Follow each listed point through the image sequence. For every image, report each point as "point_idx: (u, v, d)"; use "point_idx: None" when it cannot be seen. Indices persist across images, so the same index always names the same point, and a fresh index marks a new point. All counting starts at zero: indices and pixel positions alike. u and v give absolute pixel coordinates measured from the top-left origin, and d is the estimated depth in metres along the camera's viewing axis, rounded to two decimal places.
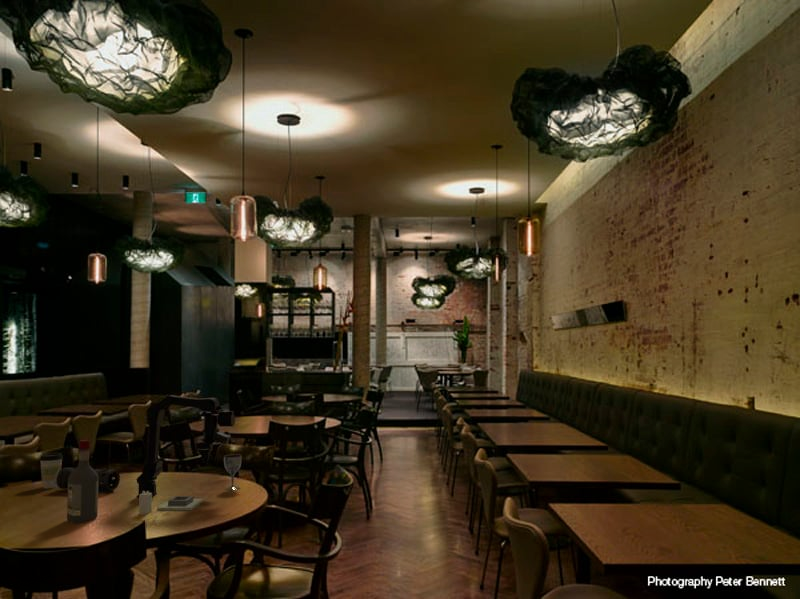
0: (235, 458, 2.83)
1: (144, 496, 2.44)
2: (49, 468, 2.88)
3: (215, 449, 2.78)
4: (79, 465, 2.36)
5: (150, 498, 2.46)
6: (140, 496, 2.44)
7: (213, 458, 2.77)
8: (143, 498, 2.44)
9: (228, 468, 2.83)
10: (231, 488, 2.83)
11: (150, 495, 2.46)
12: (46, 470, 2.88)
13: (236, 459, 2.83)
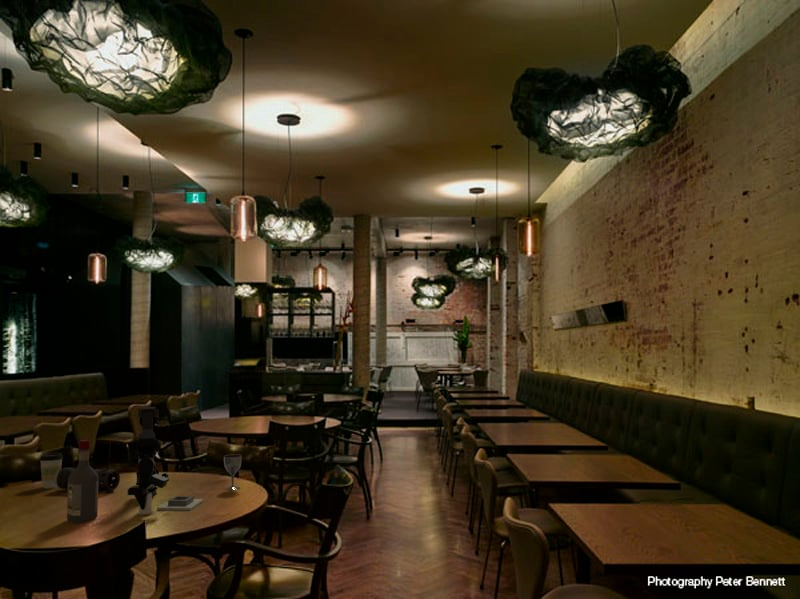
0: (235, 458, 2.83)
1: None
2: (49, 468, 2.88)
3: None
4: (79, 465, 2.36)
5: (150, 498, 2.46)
6: None
7: None
8: None
9: (228, 468, 2.83)
10: (231, 488, 2.83)
11: (150, 495, 2.46)
12: (46, 470, 2.88)
13: (236, 459, 2.83)
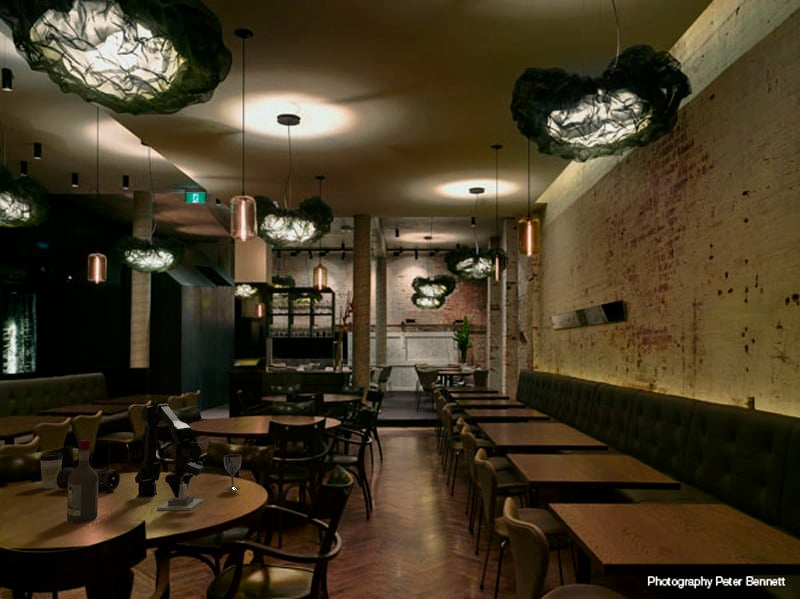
0: (235, 458, 2.83)
1: (180, 487, 2.55)
2: (49, 468, 2.88)
3: (186, 481, 2.61)
4: (79, 465, 2.36)
5: (186, 489, 2.57)
6: None
7: None
8: None
9: (228, 468, 2.83)
10: (231, 488, 2.83)
11: (186, 486, 2.57)
12: (46, 470, 2.88)
13: (236, 459, 2.83)
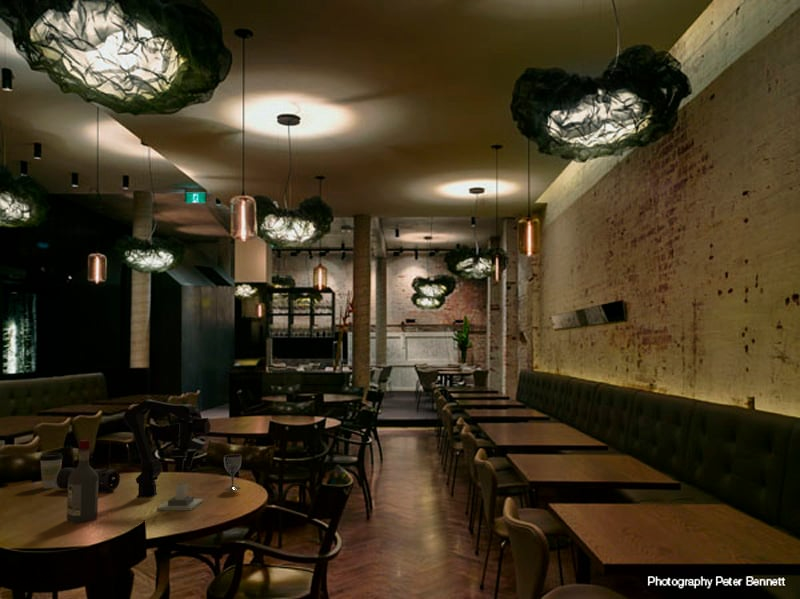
0: (235, 458, 2.83)
1: (180, 487, 2.55)
2: (49, 468, 2.88)
3: (191, 456, 2.76)
4: (79, 465, 2.36)
5: (186, 489, 2.57)
6: (176, 487, 2.55)
7: (189, 465, 2.75)
8: (179, 489, 2.55)
9: (228, 468, 2.83)
10: (231, 488, 2.83)
11: (186, 486, 2.57)
12: (46, 470, 2.88)
13: (236, 459, 2.83)
